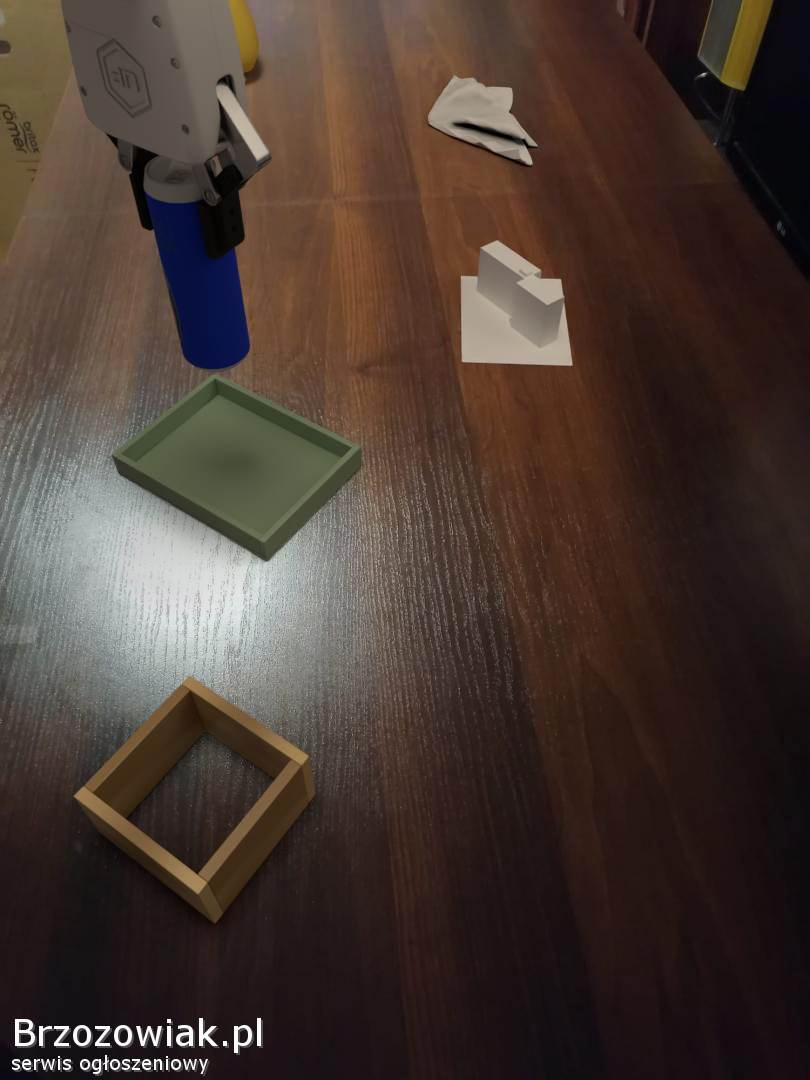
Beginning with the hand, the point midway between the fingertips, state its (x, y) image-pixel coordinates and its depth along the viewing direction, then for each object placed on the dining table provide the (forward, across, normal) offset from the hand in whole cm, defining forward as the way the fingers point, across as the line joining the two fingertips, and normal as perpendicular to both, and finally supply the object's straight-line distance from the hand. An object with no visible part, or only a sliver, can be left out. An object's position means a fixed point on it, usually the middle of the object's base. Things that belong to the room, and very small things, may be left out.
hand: (193, 232), depth 59 cm
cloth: (+24, -17, +69) cm, 75 cm away
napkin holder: (+24, +9, +33) cm, 42 cm away
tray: (+24, 0, 0) cm, 24 cm away
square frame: (+24, +19, -25) cm, 39 cm away
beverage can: (+11, 0, 0) cm, 11 cm away
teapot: (+24, -57, +60) cm, 86 cm away
